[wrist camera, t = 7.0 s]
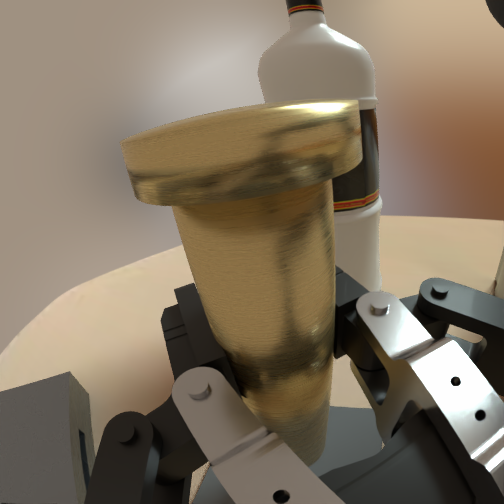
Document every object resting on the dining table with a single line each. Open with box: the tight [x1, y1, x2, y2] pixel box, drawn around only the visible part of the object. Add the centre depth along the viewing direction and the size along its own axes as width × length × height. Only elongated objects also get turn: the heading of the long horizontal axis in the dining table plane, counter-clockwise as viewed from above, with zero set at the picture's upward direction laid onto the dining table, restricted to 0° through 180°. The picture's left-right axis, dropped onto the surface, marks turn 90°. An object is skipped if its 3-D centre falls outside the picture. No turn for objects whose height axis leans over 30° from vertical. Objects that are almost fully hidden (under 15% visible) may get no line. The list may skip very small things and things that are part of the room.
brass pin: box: [120, 99, 363, 467], centre depth 8 cm, size 4×4×14 cm
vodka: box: [258, 0, 383, 292], centre depth 20 cm, size 9×9×30 cm
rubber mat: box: [192, 406, 382, 504], centre depth 13 cm, size 10×10×1 cm
